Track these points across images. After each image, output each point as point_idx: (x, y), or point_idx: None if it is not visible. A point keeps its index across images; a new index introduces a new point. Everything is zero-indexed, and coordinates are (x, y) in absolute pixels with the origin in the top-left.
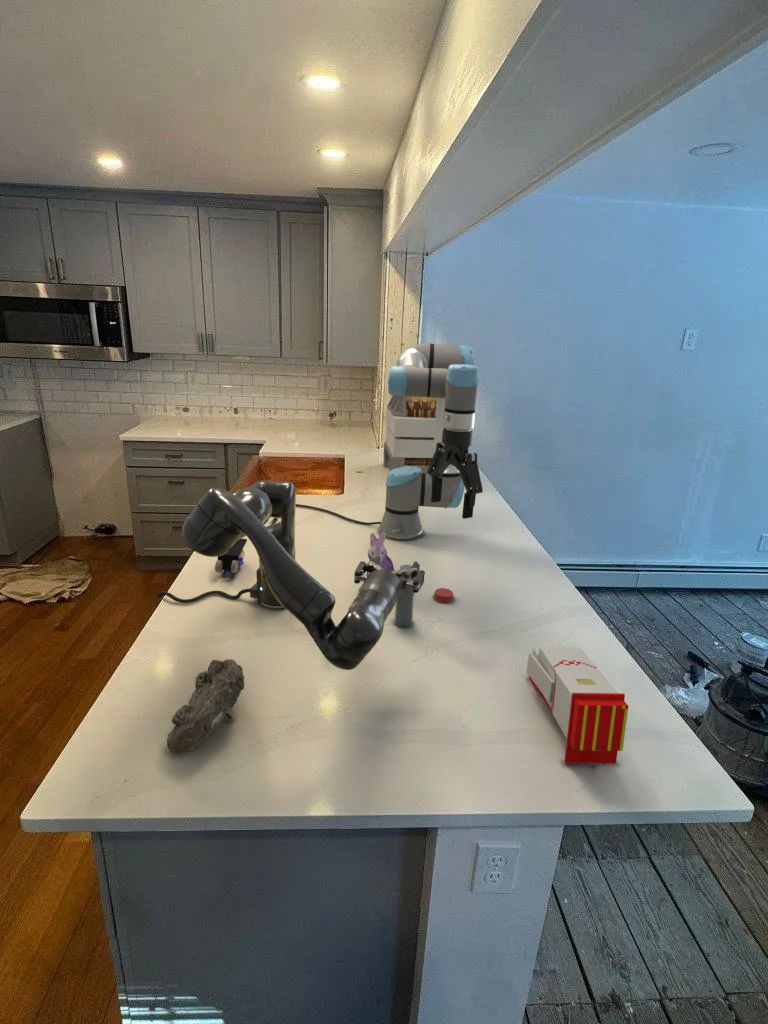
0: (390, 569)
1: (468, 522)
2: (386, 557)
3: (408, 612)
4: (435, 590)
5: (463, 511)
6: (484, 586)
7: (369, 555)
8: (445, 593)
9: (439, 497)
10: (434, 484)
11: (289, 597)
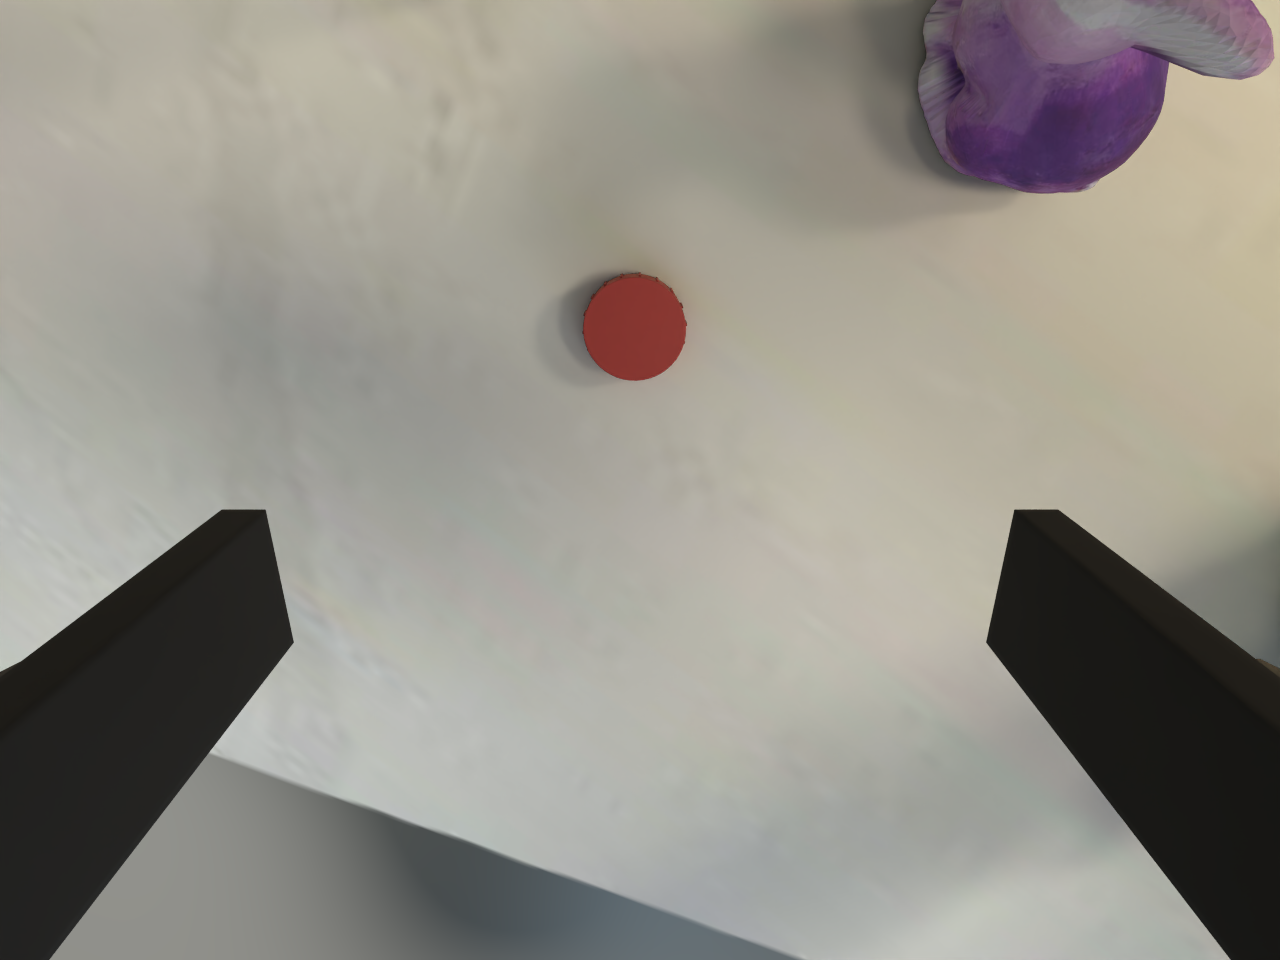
0: (972, 121)
1: None
2: (1065, 109)
3: None
4: (675, 300)
5: (187, 558)
6: (644, 580)
7: None
8: (620, 331)
9: (1020, 654)
10: (1238, 715)
11: None
